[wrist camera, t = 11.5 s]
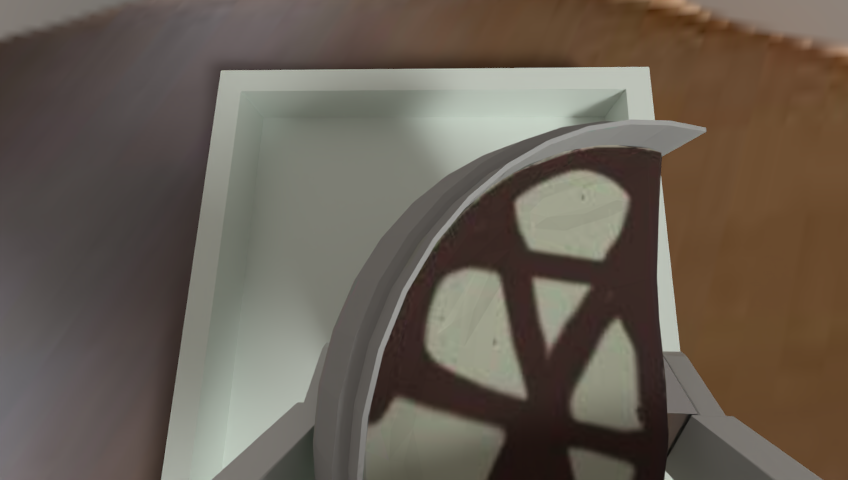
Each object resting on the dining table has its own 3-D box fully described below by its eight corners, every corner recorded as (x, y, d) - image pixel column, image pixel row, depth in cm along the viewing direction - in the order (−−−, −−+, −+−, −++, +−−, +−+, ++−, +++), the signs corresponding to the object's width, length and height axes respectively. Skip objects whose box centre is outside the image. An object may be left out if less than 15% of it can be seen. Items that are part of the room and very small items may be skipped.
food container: (351, 183, 16) (393, 2, 6) (493, 213, 17) (707, 101, 8) (287, 524, 14) (197, 1062, 4) (457, 530, 15) (698, 944, 5)
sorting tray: (181, 683, 15) (118, 770, 12) (253, 107, 20) (221, 70, 17) (671, 717, 14) (731, 819, 11) (617, 106, 19) (649, 66, 16)
